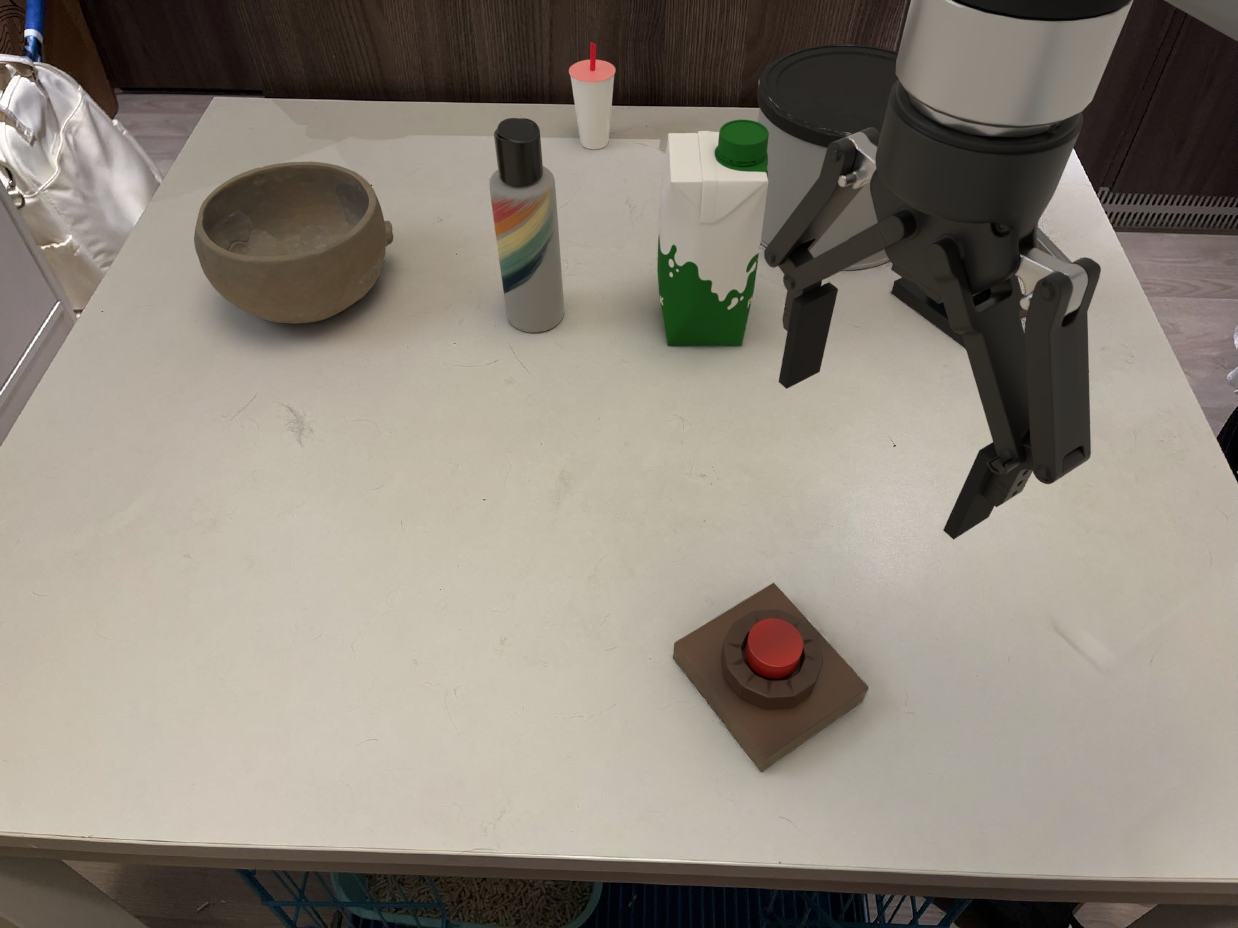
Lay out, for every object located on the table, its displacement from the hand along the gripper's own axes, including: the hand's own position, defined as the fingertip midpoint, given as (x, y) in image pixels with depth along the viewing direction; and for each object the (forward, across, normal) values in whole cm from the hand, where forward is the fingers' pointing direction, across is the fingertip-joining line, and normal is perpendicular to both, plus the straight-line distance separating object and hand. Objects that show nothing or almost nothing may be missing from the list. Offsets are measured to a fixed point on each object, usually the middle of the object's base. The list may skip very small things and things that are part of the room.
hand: (876, 445), depth 52 cm
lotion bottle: (+19, +41, +1) cm, 45 cm away
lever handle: (+9, +15, -35) cm, 39 cm away
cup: (+19, +65, -21) cm, 71 cm away
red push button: (+15, -2, +7) cm, 17 cm away
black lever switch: (+19, +19, -35) cm, 44 cm away
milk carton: (+19, +31, -12) cm, 38 cm away
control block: (+19, -2, +7) cm, 20 cm away
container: (+19, +37, -34) cm, 54 cm away
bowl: (+19, +57, +18) cm, 63 cm away
